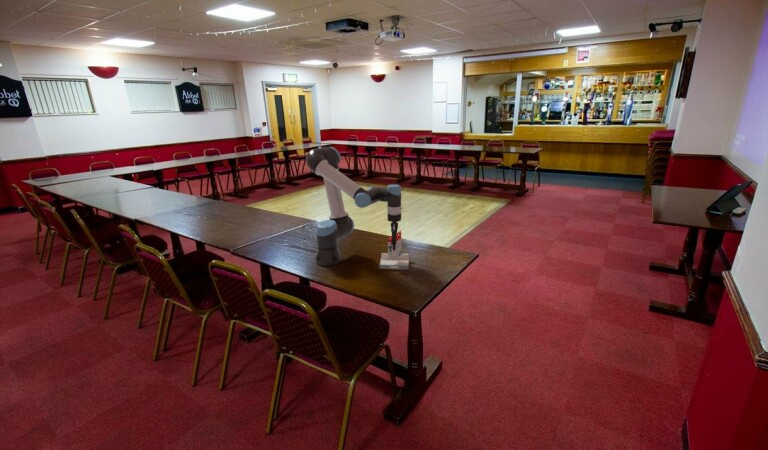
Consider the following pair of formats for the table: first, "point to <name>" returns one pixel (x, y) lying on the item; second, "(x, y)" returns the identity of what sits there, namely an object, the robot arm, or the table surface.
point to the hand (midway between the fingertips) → (394, 251)
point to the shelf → (394, 262)
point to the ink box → (398, 241)
